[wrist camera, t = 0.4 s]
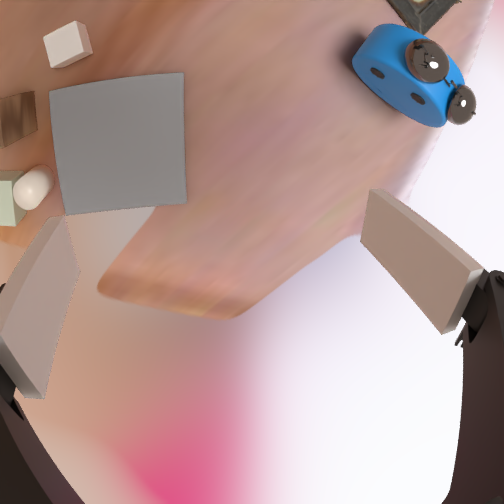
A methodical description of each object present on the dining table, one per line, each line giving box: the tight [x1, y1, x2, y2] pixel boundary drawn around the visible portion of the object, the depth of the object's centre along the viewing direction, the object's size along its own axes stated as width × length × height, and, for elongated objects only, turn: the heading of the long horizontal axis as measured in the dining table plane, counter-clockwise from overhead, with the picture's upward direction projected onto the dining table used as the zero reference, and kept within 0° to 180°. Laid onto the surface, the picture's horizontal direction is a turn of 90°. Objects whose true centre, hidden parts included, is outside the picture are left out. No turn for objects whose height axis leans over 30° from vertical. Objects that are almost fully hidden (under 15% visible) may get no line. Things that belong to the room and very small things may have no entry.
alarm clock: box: [352, 24, 476, 127], centre depth 29 cm, size 13×6×15 cm, turn 57°
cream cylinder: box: [13, 165, 55, 210], centre depth 31 cm, size 4×4×5 cm
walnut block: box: [0, 91, 38, 149], centre depth 24 cm, size 5×5×9 cm
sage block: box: [0, 171, 27, 226], centre depth 31 cm, size 6×4×4 cm, turn 168°
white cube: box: [43, 20, 93, 68], centre depth 24 cm, size 4×4×4 cm
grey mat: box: [49, 72, 187, 216], centre depth 33 cm, size 16×16×1 cm
